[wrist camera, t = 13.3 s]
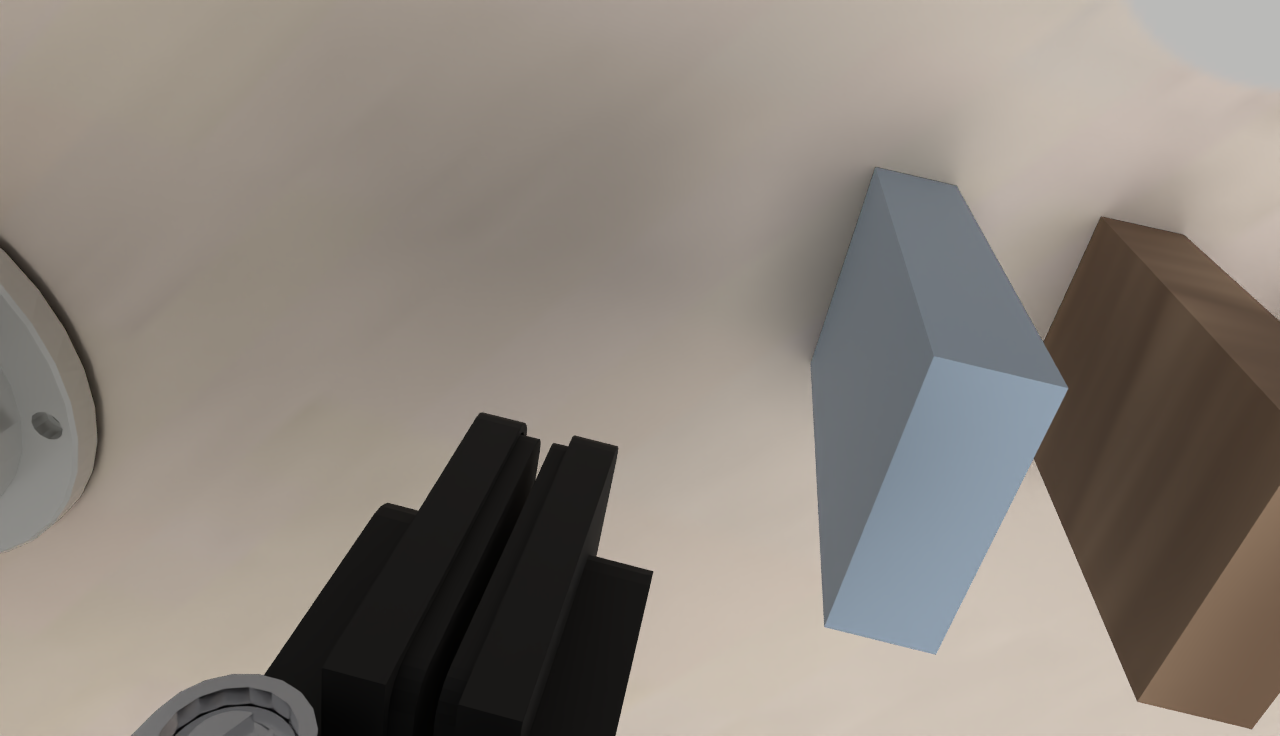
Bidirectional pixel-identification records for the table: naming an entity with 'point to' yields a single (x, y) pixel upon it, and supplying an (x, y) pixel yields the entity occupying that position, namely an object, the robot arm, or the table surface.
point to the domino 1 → (920, 412)
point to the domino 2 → (1172, 468)
